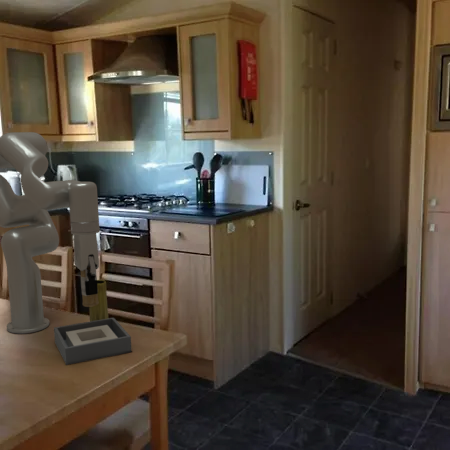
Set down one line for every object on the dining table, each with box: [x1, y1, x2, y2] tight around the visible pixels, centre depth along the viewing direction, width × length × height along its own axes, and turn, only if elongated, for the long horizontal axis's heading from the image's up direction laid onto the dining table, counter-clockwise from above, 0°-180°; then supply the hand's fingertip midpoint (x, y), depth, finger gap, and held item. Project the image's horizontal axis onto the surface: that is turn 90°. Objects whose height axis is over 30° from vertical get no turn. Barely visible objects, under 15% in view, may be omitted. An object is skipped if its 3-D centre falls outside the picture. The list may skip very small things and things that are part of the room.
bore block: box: [66, 325, 118, 347], centre depth 153 cm, size 12×12×3 cm
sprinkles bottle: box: [79, 263, 99, 308], centre depth 150 cm, size 5×5×13 cm
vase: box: [88, 279, 109, 322], centre depth 169 cm, size 6×6×14 cm
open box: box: [53, 317, 132, 366], centre depth 153 cm, size 18×18×4 cm
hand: (89, 291), depth 150 cm, fingers closed on sprinkles bottle, 4 cm apart
